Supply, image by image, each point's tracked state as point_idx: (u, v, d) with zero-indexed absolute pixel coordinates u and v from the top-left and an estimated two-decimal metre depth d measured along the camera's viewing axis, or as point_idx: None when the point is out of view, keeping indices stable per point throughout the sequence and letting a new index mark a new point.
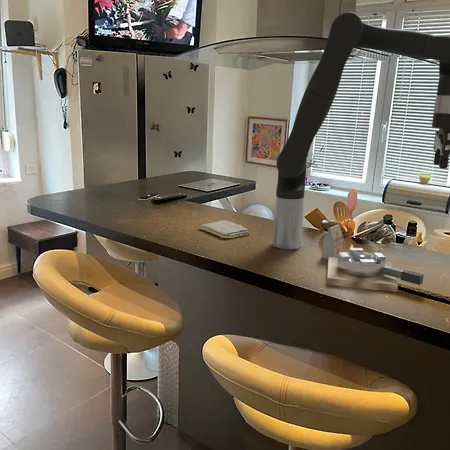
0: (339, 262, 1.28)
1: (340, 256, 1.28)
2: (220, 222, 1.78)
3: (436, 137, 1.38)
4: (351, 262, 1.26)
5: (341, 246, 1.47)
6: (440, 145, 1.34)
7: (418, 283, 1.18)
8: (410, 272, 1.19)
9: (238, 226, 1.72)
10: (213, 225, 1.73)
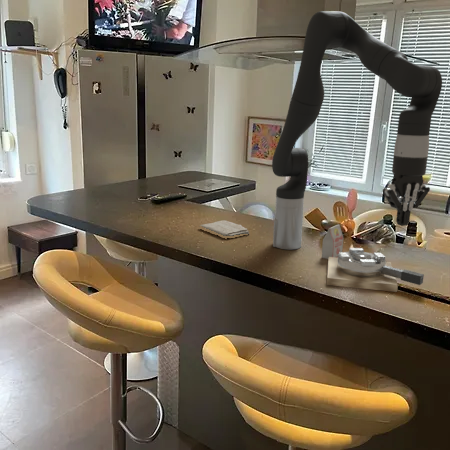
0: (339, 262, 1.28)
1: (340, 256, 1.28)
2: (220, 222, 1.78)
3: (410, 185, 1.08)
4: (351, 262, 1.26)
5: (341, 246, 1.47)
6: None
7: (418, 283, 1.18)
8: (410, 272, 1.19)
9: (238, 226, 1.72)
10: (213, 225, 1.73)
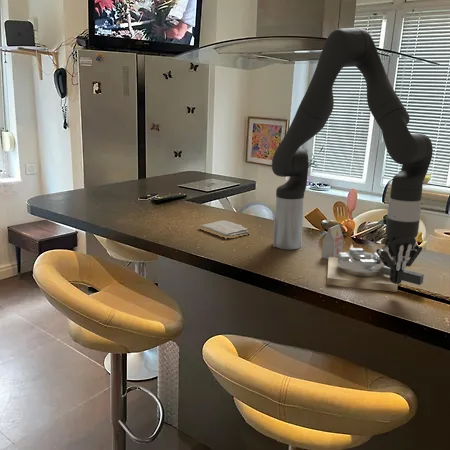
0: (339, 262, 1.28)
1: (340, 256, 1.28)
2: (220, 222, 1.78)
3: (403, 247, 1.12)
4: (351, 262, 1.26)
5: (341, 246, 1.47)
6: None
7: (418, 283, 1.18)
8: (410, 272, 1.19)
9: (238, 226, 1.72)
10: (213, 225, 1.73)
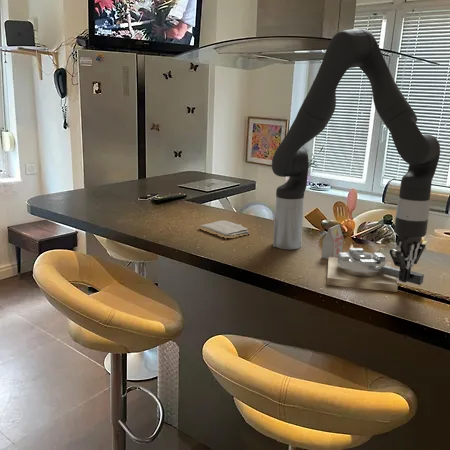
0: (339, 262, 1.28)
1: (340, 256, 1.28)
2: (219, 222, 1.78)
3: (414, 246, 1.14)
4: (351, 262, 1.26)
5: (341, 246, 1.47)
6: None
7: (418, 283, 1.18)
8: (410, 272, 1.20)
9: (238, 226, 1.72)
10: (213, 225, 1.73)
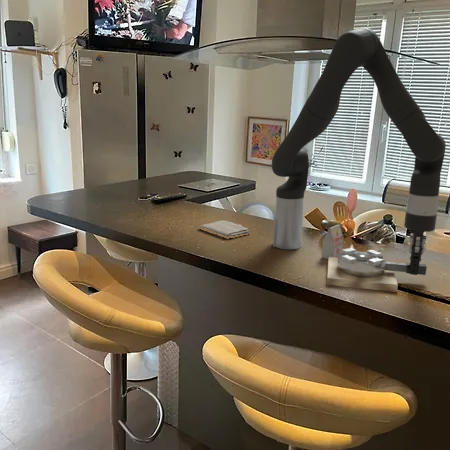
0: (346, 266, 1.25)
1: (346, 260, 1.26)
2: (219, 222, 1.78)
3: (425, 239, 1.20)
4: (359, 263, 1.24)
5: (341, 246, 1.47)
6: None
7: (424, 273, 1.24)
8: None
9: (238, 226, 1.72)
10: (213, 225, 1.73)
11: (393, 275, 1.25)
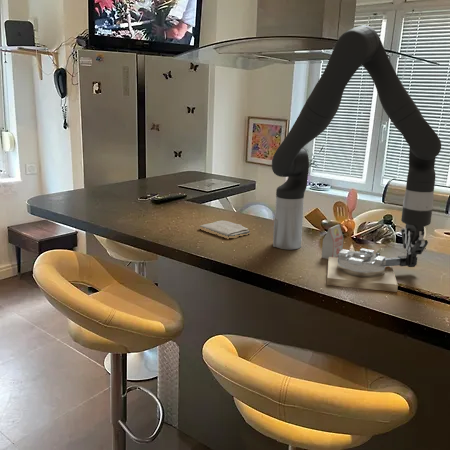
0: (357, 268, 1.23)
1: (354, 262, 1.24)
2: (219, 222, 1.78)
3: None
4: (367, 264, 1.24)
5: (341, 246, 1.47)
6: None
7: (415, 264, 1.32)
8: None
9: (238, 226, 1.72)
10: (213, 225, 1.73)
11: (393, 275, 1.25)
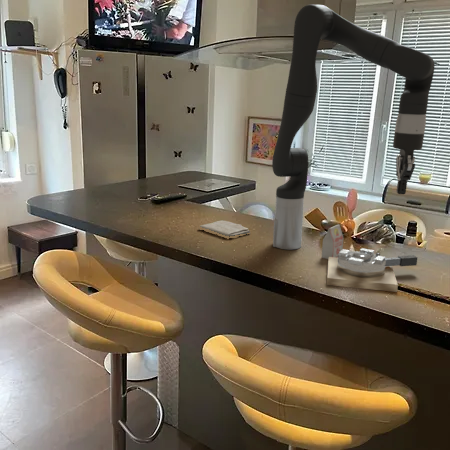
0: (357, 268, 1.23)
1: (354, 262, 1.24)
2: (219, 222, 1.77)
3: None
4: (367, 264, 1.24)
5: (341, 246, 1.47)
6: None
7: (415, 264, 1.32)
8: (406, 257, 1.31)
9: (238, 226, 1.72)
10: (213, 225, 1.73)
11: (393, 275, 1.25)
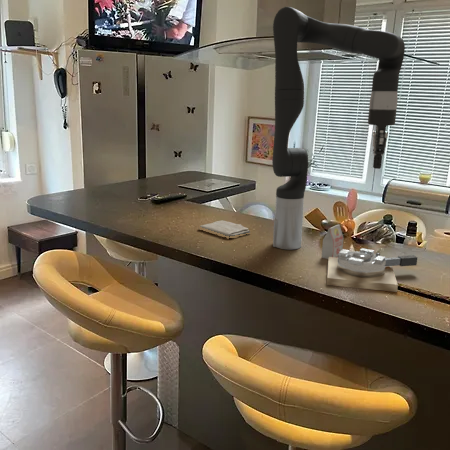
0: (357, 268, 1.23)
1: (354, 262, 1.24)
2: (218, 222, 1.77)
3: None
4: (367, 264, 1.24)
5: (341, 246, 1.47)
6: None
7: (415, 264, 1.32)
8: (406, 257, 1.31)
9: (238, 226, 1.72)
10: (213, 225, 1.73)
11: (393, 275, 1.25)
